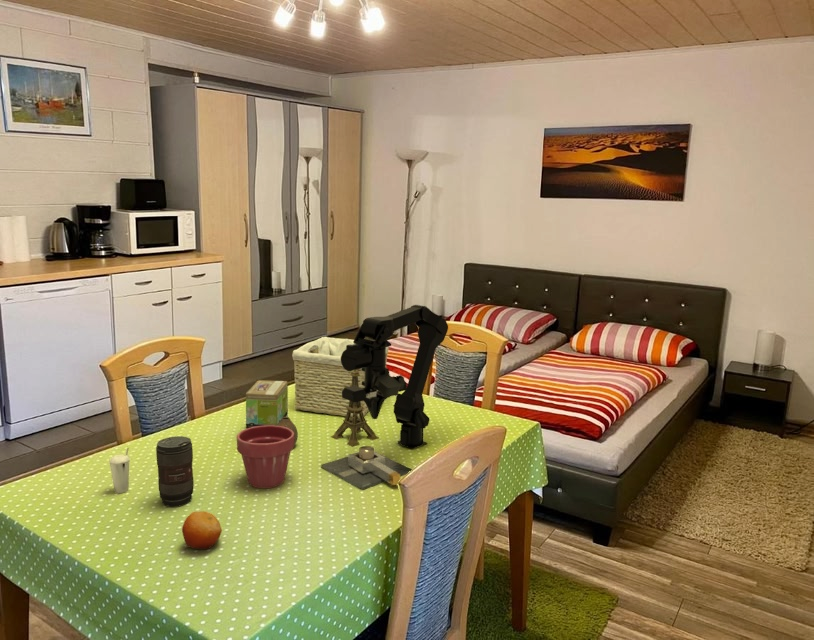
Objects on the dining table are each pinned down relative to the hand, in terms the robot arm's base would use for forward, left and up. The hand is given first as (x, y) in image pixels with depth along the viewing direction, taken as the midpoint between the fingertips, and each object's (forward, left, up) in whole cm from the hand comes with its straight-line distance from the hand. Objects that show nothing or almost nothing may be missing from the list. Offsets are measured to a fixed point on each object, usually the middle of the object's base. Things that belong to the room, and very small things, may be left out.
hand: (374, 418), depth 180 cm
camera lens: (+52, -11, -12) cm, 55 cm away
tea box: (+12, -38, -12) cm, 42 cm away
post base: (+6, +4, -12) cm, 14 cm away
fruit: (+56, +12, -12) cm, 59 cm away
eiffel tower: (-6, -17, -12) cm, 22 cm away
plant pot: (+30, -7, -12) cm, 33 cm away
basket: (-22, -45, -12) cm, 52 cm away
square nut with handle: (+6, +9, -11) cm, 16 cm away
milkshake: (+60, -25, -12) cm, 66 cm away
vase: (+14, -24, -12) cm, 30 cm away
